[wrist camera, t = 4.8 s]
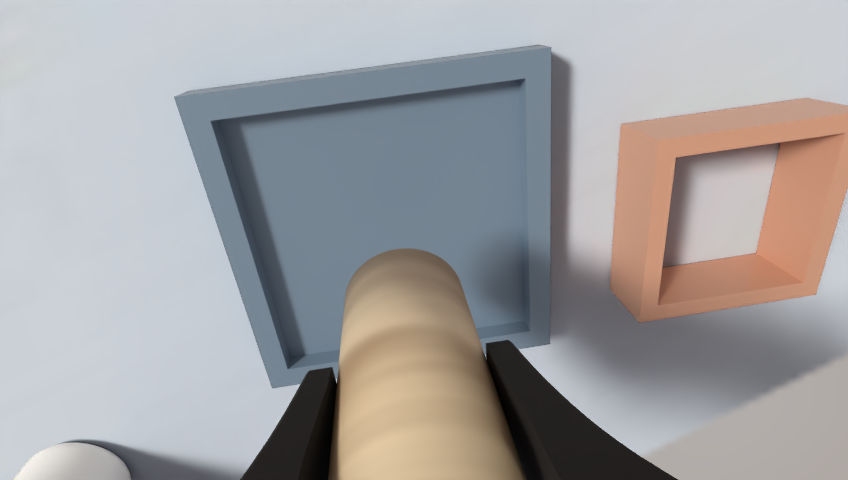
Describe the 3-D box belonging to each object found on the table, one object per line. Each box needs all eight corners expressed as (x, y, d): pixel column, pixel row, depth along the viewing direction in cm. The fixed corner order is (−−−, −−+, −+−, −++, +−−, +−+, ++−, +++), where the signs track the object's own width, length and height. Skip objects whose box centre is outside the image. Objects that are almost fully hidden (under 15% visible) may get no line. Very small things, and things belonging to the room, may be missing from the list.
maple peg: (467, 339, 17) (545, 605, 9) (356, 356, 17) (343, 642, 9) (458, 240, 15) (545, 467, 8) (334, 258, 15) (295, 508, 7)
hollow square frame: (767, 264, 25) (815, 294, 22) (609, 289, 25) (639, 322, 22) (806, 97, 21) (870, 109, 18) (621, 123, 21) (658, 140, 18)
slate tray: (540, 326, 25) (549, 343, 24) (277, 368, 25) (272, 388, 23) (538, 45, 19) (551, 47, 18) (188, 90, 18) (174, 96, 17)
